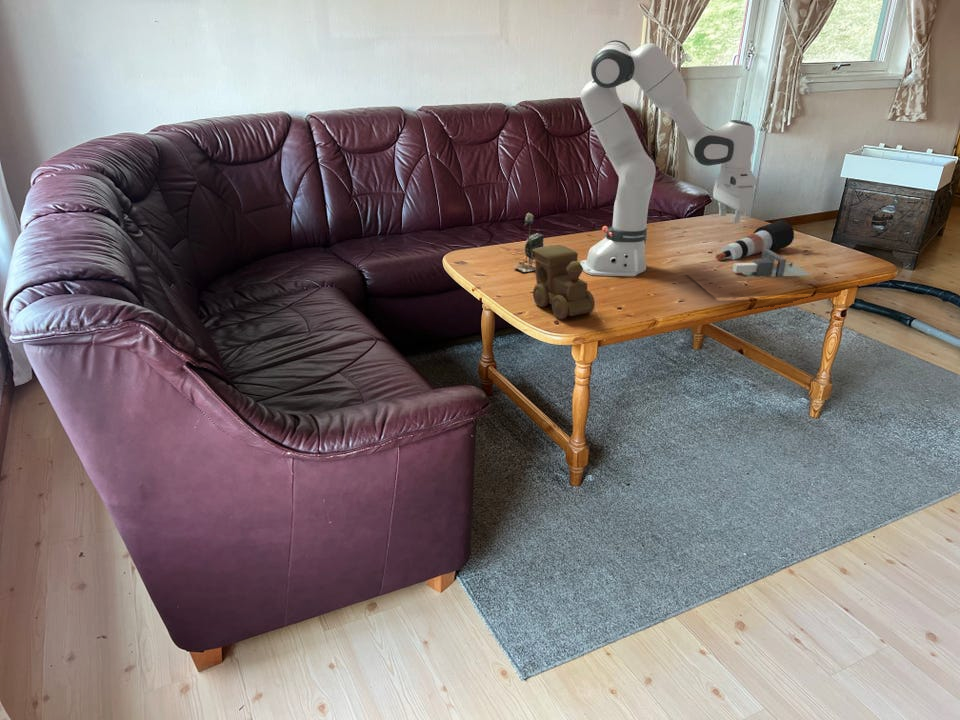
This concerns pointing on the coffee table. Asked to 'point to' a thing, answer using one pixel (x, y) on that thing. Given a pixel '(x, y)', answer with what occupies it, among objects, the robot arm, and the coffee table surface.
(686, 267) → the coffee table surface
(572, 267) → the wooden toy train
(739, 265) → the plug
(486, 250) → the coffee table surface
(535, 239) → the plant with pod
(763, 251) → the housing
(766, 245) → the cable
